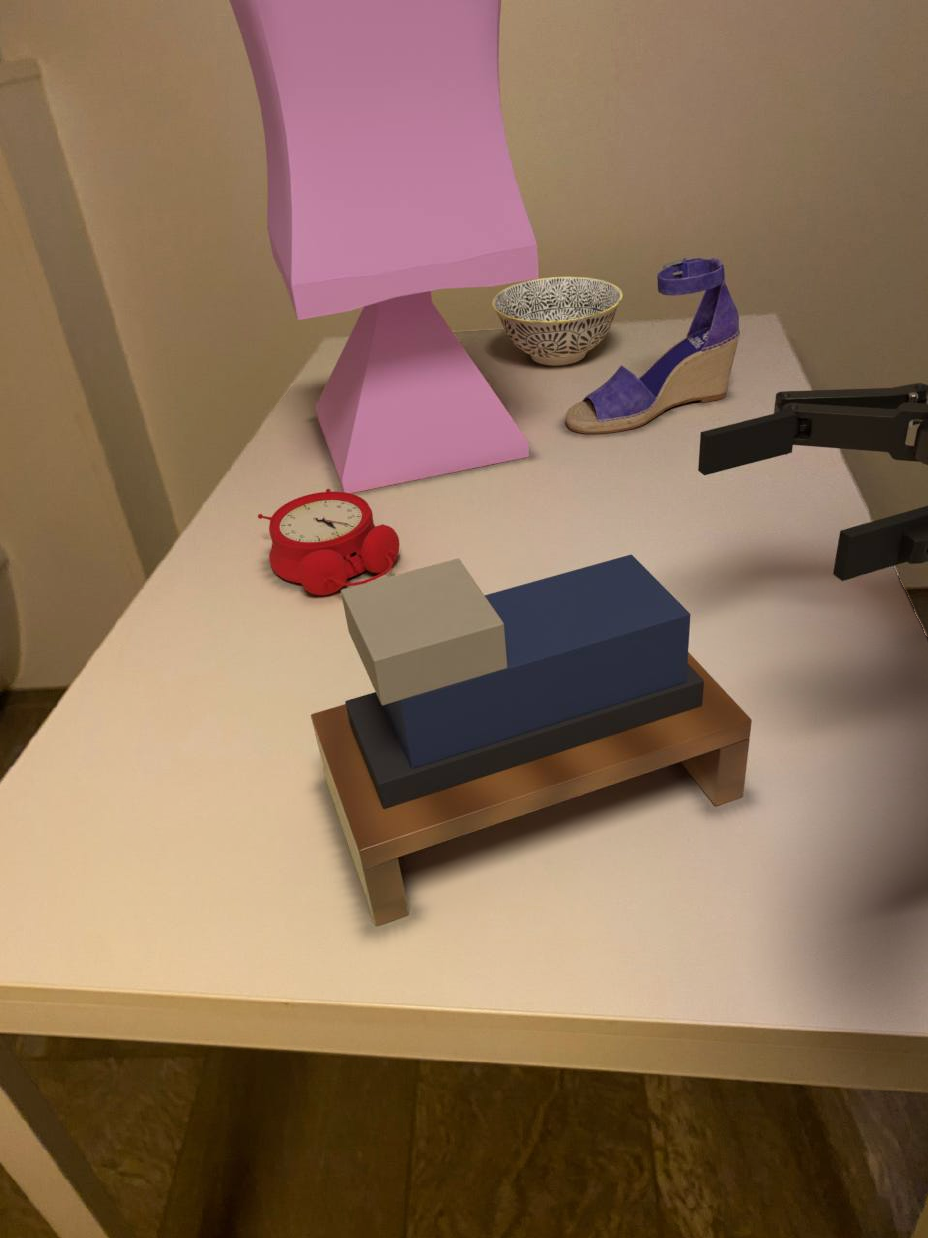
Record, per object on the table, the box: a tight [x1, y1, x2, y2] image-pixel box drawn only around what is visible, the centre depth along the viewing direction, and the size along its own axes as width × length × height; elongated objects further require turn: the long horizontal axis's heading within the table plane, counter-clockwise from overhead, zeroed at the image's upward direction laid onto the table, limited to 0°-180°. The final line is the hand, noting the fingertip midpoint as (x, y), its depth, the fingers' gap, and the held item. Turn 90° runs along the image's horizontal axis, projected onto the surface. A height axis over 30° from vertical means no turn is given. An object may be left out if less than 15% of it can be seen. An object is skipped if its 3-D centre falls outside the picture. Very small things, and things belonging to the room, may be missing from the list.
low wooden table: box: [310, 651, 753, 927], centre depth 60 cm, size 24×12×6 cm, turn 110°
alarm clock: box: [257, 488, 400, 596], centre depth 85 cm, size 10×6×15 cm
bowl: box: [491, 276, 624, 367], centre depth 120 cm, size 16×16×8 cm
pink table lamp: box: [229, 0, 540, 494], centre depth 93 cm, size 22×22×45 cm
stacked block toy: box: [340, 554, 704, 809], centre depth 55 cm, size 20×8×10 cm, turn 110°
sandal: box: [565, 257, 741, 435], centre depth 102 cm, size 8×20×15 cm, turn 100°
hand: (764, 500), depth 55 cm, fingers open, 13 cm apart
